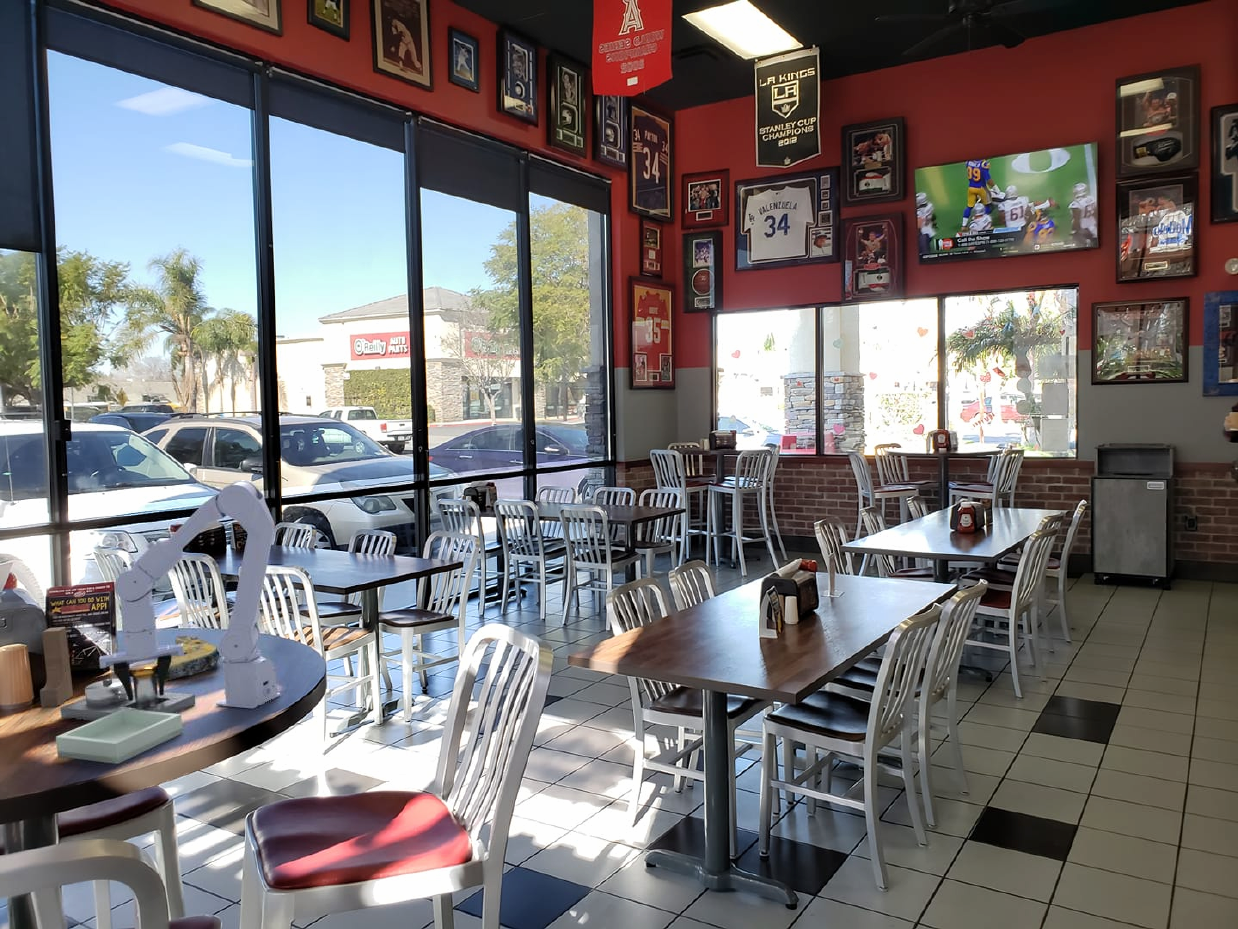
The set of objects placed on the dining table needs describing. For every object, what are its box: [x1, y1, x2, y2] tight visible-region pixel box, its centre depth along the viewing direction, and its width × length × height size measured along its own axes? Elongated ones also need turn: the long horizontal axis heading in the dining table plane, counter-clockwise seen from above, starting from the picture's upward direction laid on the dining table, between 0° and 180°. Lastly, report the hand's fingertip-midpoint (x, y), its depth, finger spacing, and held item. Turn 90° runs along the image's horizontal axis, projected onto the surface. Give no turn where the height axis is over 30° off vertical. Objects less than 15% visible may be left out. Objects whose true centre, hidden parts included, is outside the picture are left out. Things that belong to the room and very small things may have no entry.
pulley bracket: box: [59, 677, 196, 722], centre depth 182 cm, size 22×12×6 cm, turn 70°
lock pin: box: [129, 663, 159, 709], centre depth 180 cm, size 5×5×9 cm
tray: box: [55, 709, 184, 765], centre depth 164 cm, size 14×14×4 cm
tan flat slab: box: [152, 635, 222, 681], centre depth 212 cm, size 14×6×30 cm
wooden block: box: [39, 626, 74, 708], centre depth 189 cm, size 7×3×15 cm, turn 6°
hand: (146, 697), depth 180 cm, fingers closed on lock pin, 5 cm apart
